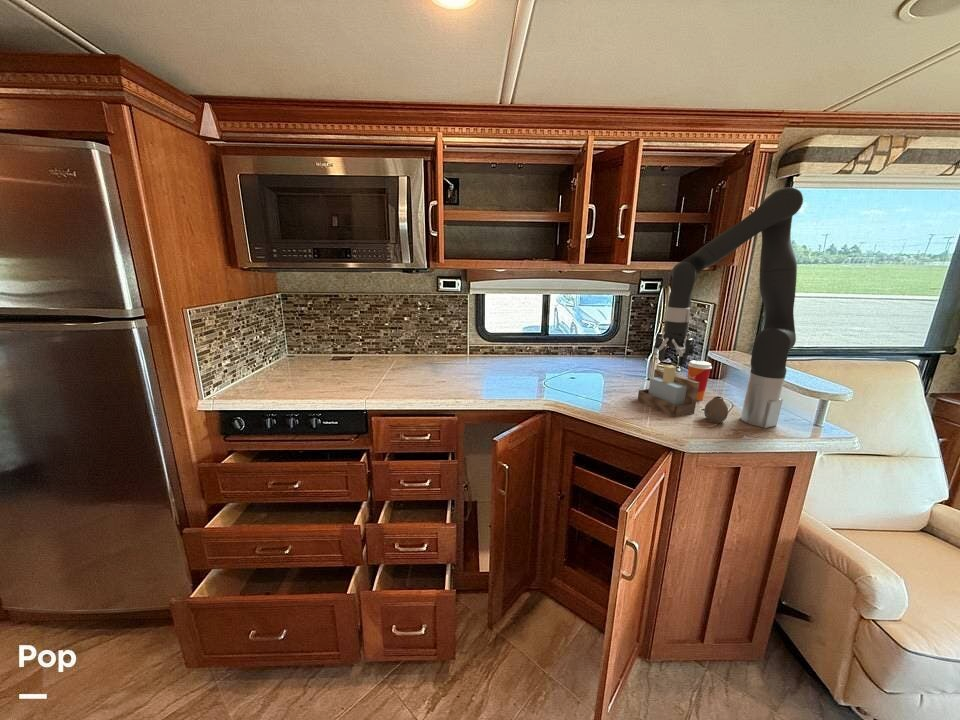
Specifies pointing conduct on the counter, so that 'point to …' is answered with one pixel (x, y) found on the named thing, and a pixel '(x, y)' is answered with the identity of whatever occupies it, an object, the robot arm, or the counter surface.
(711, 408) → the brown rounded pot shape
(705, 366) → the coffee cup
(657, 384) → the grey block with handle
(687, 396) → the brown wooden box
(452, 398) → the counter surface
